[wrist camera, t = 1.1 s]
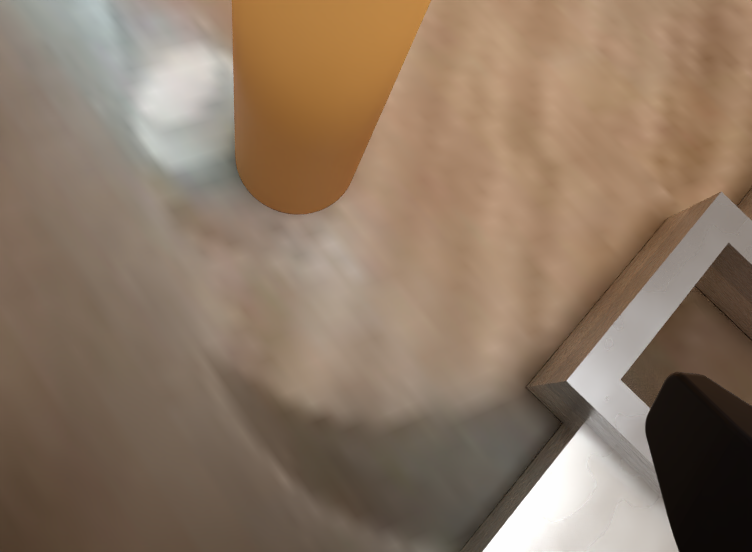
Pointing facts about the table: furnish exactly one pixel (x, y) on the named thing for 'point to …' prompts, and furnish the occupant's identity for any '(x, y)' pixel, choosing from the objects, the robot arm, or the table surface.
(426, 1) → the pin
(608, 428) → the grey peg socket block
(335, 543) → the table surface
